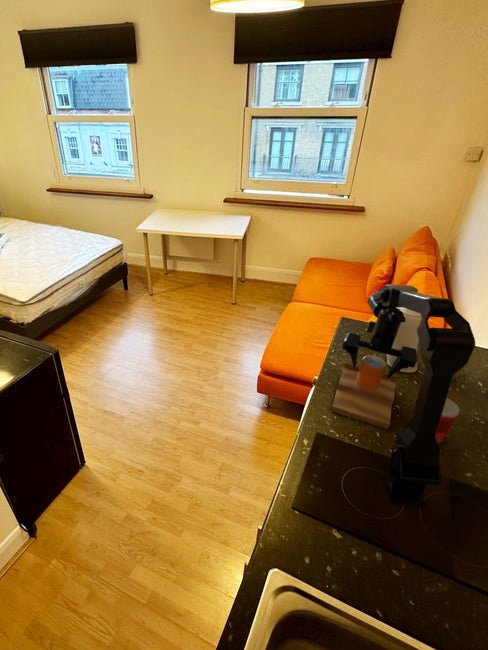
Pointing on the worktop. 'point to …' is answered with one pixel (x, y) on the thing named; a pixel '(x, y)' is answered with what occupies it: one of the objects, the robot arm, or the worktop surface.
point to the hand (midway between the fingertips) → (370, 372)
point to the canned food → (446, 419)
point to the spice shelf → (364, 398)
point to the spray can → (406, 335)
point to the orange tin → (371, 372)
